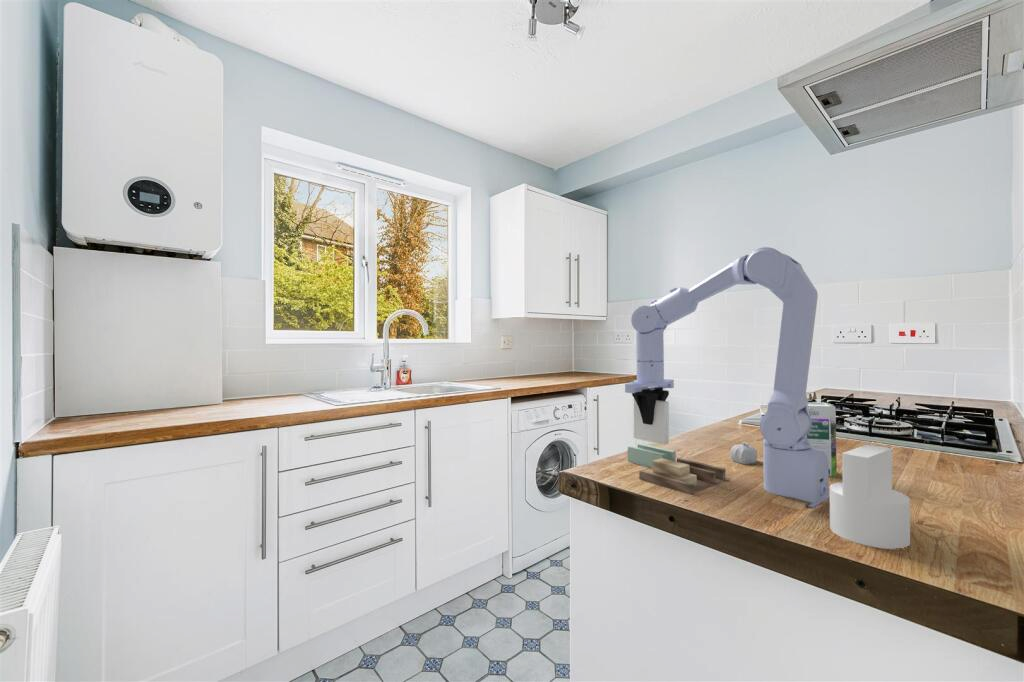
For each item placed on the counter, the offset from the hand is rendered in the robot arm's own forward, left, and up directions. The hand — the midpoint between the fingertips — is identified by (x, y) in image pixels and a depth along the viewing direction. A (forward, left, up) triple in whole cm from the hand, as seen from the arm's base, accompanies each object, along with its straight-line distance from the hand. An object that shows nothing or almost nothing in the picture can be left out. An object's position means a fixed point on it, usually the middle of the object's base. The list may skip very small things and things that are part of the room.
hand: (650, 423), depth 98 cm
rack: (-11, +3, -10) cm, 15 cm away
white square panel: (0, 0, -4) cm, 4 cm away
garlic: (-12, -18, -10) cm, 23 cm away
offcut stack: (-11, +7, -9) cm, 15 cm away
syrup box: (-24, -23, -10) cm, 34 cm away
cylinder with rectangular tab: (-40, +3, -10) cm, 41 cm away
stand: (0, 0, -10) cm, 10 cm away
